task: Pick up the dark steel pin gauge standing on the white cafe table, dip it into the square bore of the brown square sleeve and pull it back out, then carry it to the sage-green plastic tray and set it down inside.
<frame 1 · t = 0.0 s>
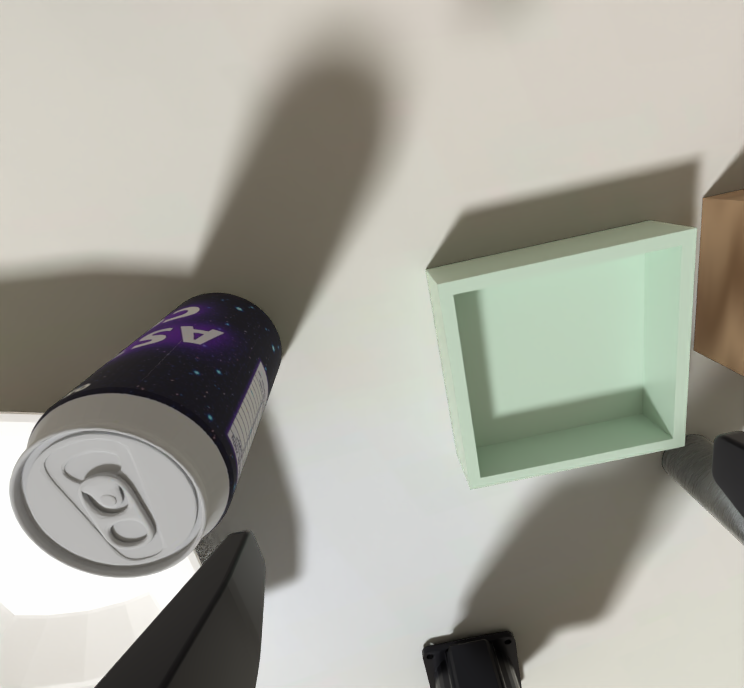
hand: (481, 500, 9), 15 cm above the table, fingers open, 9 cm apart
tray: (544, 347, 24), on the table
bowl: (59, 539, 27), on the table
pin gauge: (687, 456, 27), on the table
beverage can: (228, 341, 23), on the table
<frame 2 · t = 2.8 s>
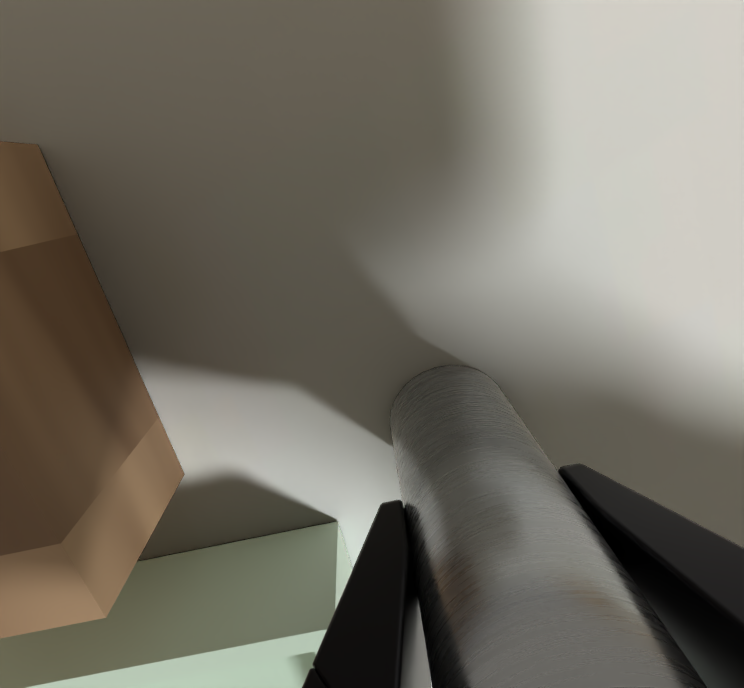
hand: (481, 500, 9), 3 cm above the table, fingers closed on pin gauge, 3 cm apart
tray: (212, 683, 15), on the table
pin gauge: (448, 418, 11), on the table, touching gripper
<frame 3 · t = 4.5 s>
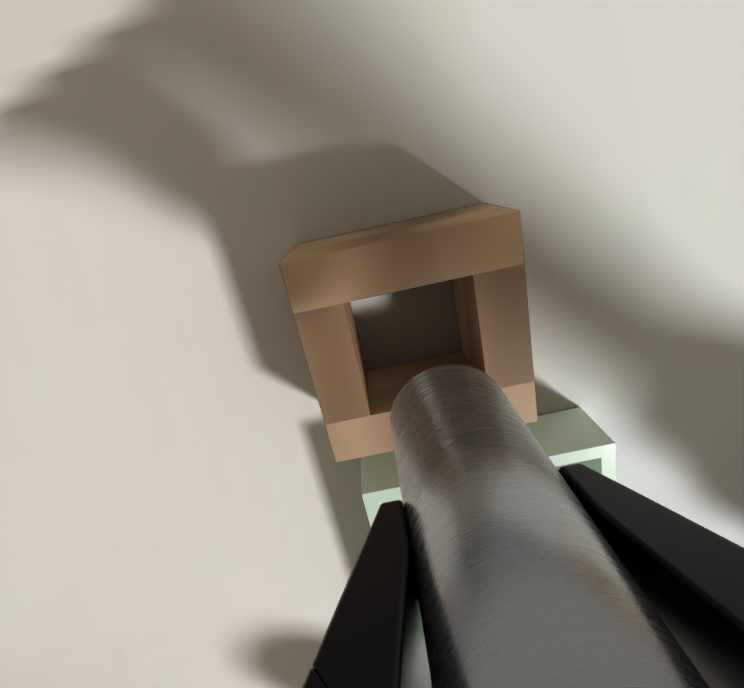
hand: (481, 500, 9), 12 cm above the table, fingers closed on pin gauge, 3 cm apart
tray: (482, 515, 24), on the table
brown square sleeve: (405, 315, 20), on the table
pin gauge: (448, 418, 11), point 9 cm above the table, touching gripper
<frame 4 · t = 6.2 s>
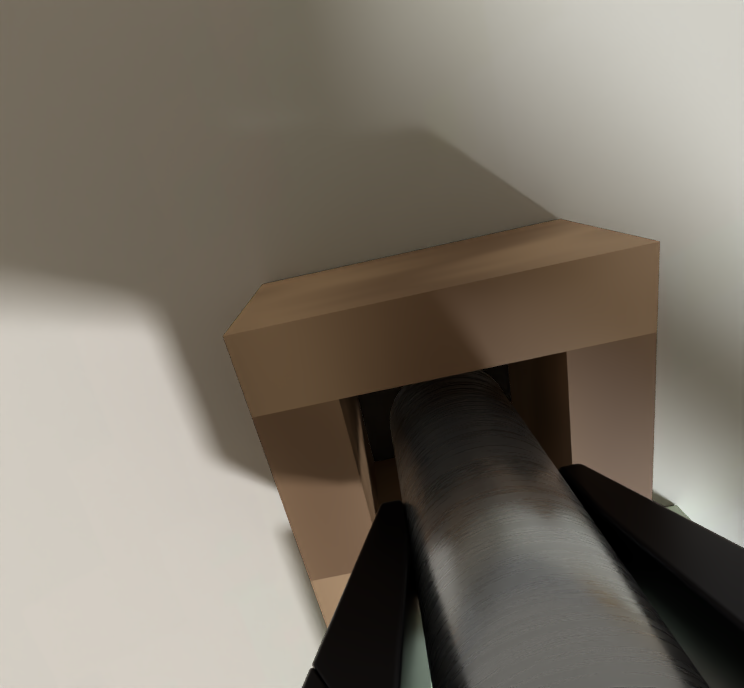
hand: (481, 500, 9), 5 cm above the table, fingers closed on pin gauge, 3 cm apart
brown square sleeve: (433, 384, 13), on the table
pin gauge: (448, 417, 11), point 2 cm above the table, touching gripper
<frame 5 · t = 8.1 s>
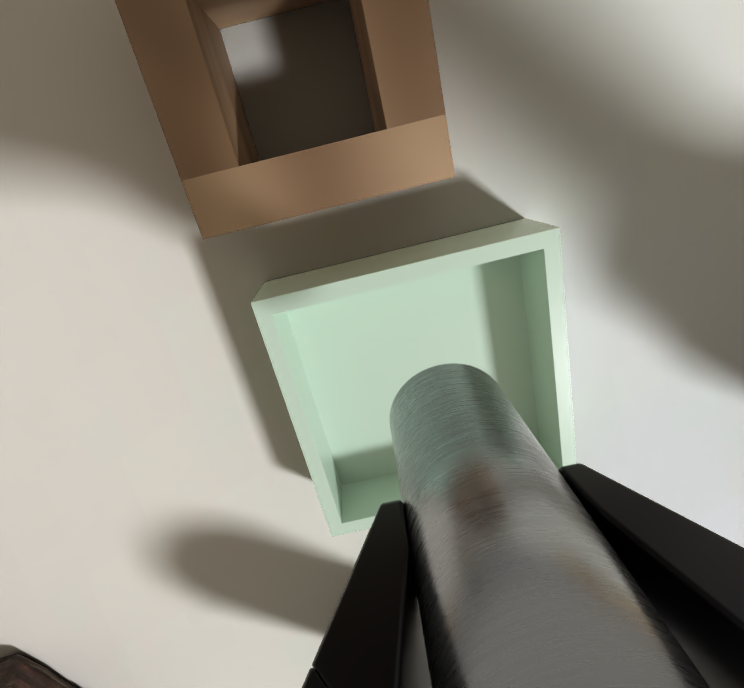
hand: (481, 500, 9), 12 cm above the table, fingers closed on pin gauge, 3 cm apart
tray: (419, 368, 20), on the table
brown square sleeve: (302, 86, 16), on the table
pin gauge: (448, 417, 11), point 9 cm above the table, touching gripper
when the fingers open (5 cm above the table, at t = 9.8 s): pin gauge drops 1 cm, resting on tray.
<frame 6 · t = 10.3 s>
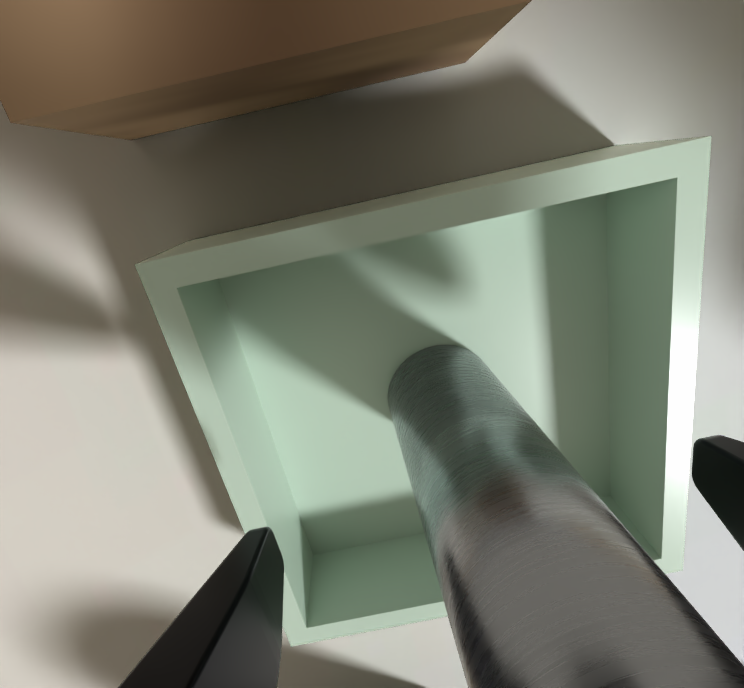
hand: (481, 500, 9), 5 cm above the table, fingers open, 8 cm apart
tray: (433, 384, 13), on the table
pin gauge: (440, 394, 13), point 1 cm above the table, touching tray
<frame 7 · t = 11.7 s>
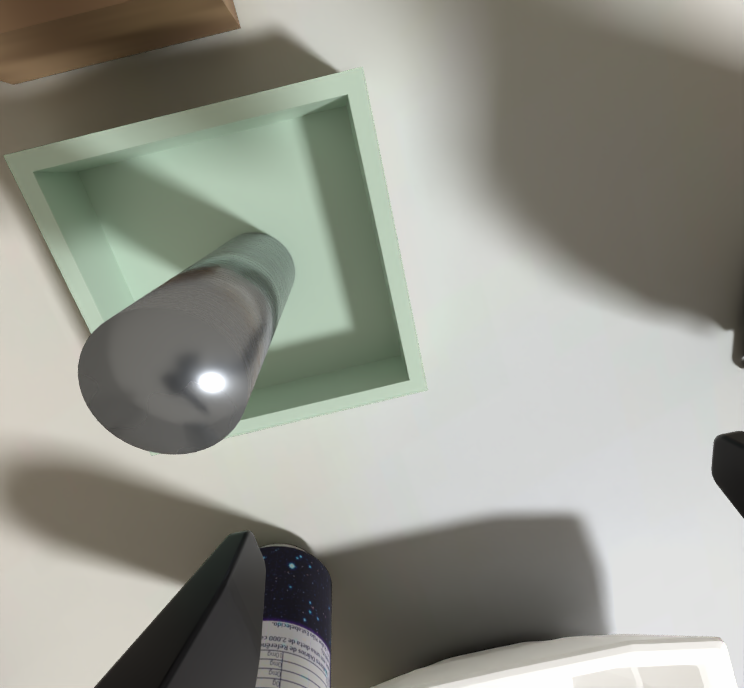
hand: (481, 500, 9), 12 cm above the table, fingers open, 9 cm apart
tray: (257, 269, 18), on the table
bowl: (490, 687, 29), on the table
pin gauge: (256, 271, 18), point 1 cm above the table, touching tray
beverage can: (279, 570, 24), on the table
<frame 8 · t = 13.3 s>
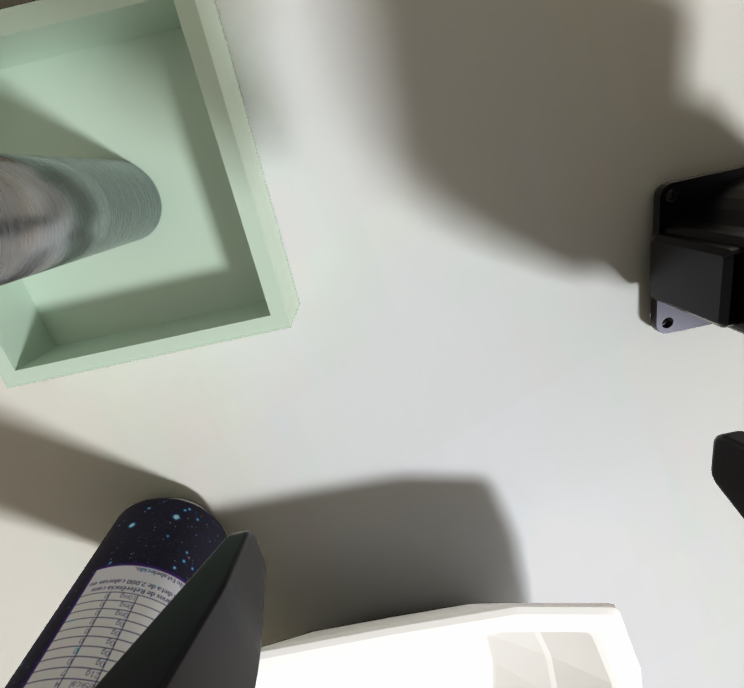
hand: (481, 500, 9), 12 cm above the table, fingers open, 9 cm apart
tray: (126, 201, 18), on the table
bowl: (409, 661, 29), on the table
pin gauge: (120, 201, 17), point 1 cm above the table, touching tray
beverage can: (178, 526, 24), on the table
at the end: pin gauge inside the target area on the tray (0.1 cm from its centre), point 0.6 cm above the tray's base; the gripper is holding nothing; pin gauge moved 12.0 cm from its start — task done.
